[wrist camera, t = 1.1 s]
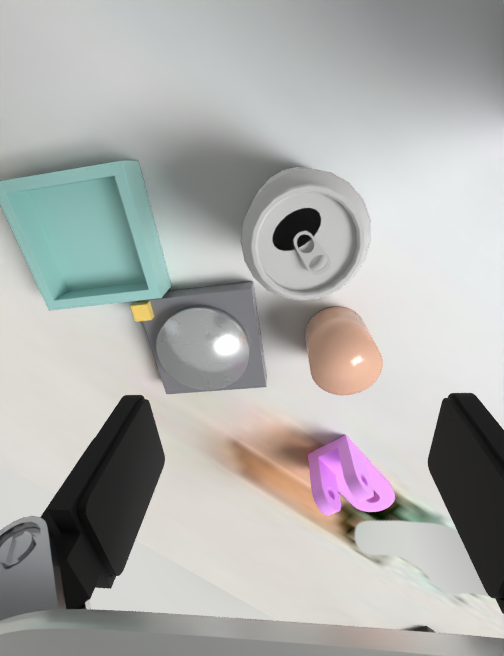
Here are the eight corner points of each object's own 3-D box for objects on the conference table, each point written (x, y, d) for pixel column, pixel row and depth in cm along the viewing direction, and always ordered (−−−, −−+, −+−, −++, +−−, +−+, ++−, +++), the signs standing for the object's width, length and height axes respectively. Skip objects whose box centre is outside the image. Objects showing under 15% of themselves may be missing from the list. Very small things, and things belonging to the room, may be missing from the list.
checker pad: (242, 300, 30) (241, 305, 29) (255, 379, 34) (254, 387, 33) (149, 310, 31) (144, 315, 30) (172, 386, 35) (169, 393, 34)
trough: (138, 160, 27) (121, 160, 24) (171, 285, 32) (161, 298, 29) (19, 180, 28) (-10, 182, 25) (68, 297, 33) (48, 310, 30)
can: (308, 145, 25) (331, 133, 15) (356, 224, 28) (405, 262, 17) (234, 205, 28) (209, 232, 17) (284, 273, 30) (289, 334, 20)
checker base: (252, 281, 31) (250, 291, 28) (266, 375, 36) (266, 391, 33) (141, 294, 32) (130, 305, 30) (169, 383, 37) (161, 399, 35)
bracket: (307, 453, 41) (313, 504, 35) (345, 433, 39) (358, 484, 33) (362, 507, 45) (376, 562, 39) (399, 492, 43) (419, 547, 37)
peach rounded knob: (365, 303, 31) (384, 333, 26) (364, 356, 34) (381, 392, 28) (302, 310, 32) (308, 339, 27) (306, 361, 35) (312, 397, 29)
